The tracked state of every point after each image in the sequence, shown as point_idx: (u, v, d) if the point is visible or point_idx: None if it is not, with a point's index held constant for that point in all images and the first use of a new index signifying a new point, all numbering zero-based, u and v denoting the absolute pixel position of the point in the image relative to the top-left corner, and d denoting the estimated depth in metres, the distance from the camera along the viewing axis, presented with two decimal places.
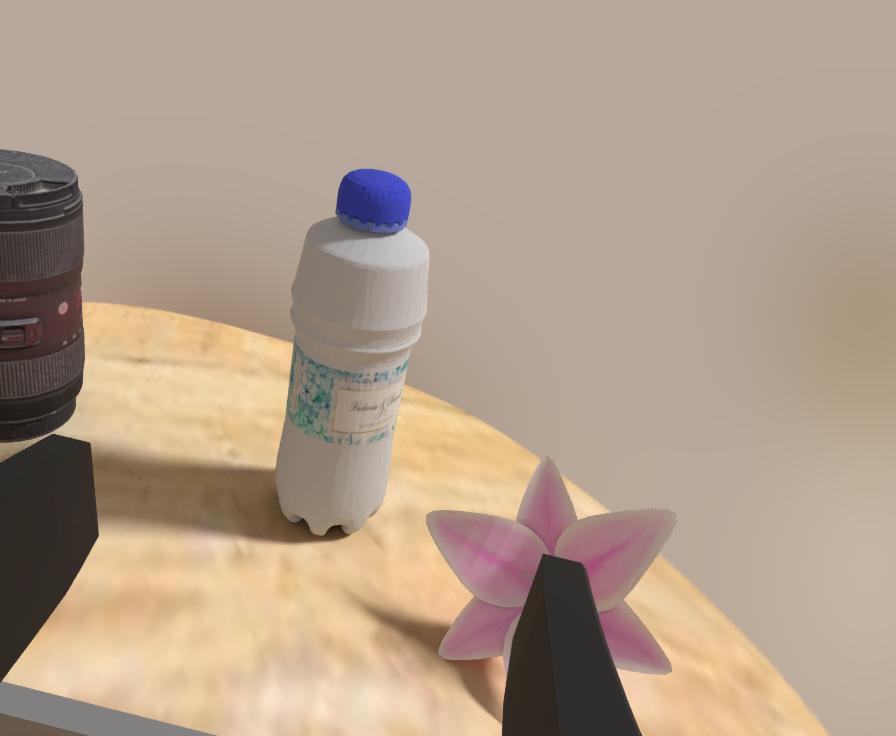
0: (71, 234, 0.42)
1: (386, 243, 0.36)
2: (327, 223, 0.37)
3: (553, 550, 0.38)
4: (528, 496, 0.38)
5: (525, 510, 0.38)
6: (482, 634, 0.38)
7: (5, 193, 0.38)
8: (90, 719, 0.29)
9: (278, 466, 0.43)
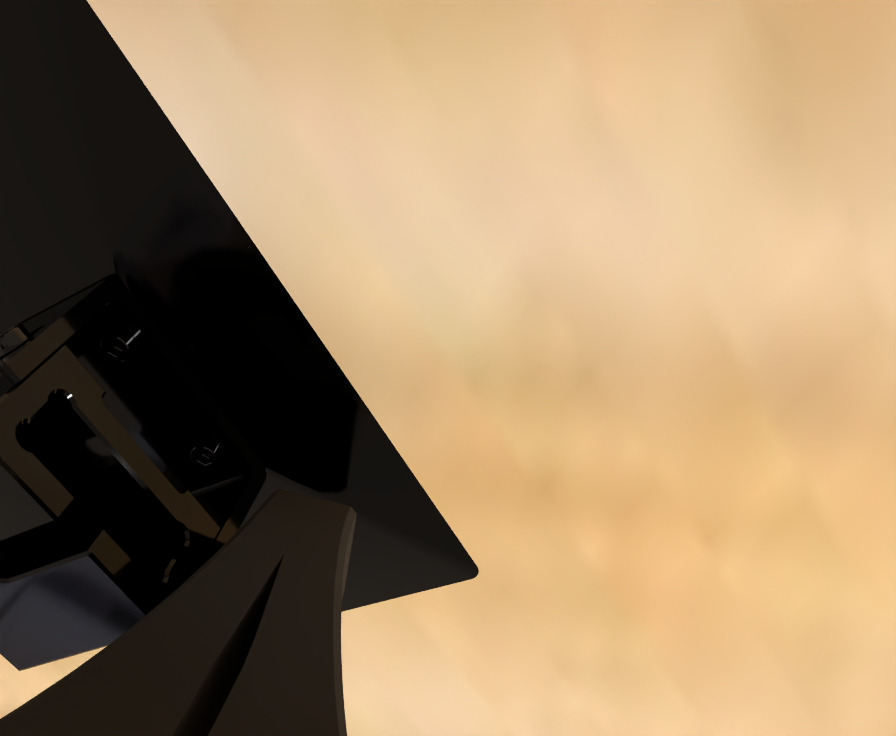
0: None
1: None
2: None
3: None
4: None
5: None
6: None
7: None
8: None
9: None
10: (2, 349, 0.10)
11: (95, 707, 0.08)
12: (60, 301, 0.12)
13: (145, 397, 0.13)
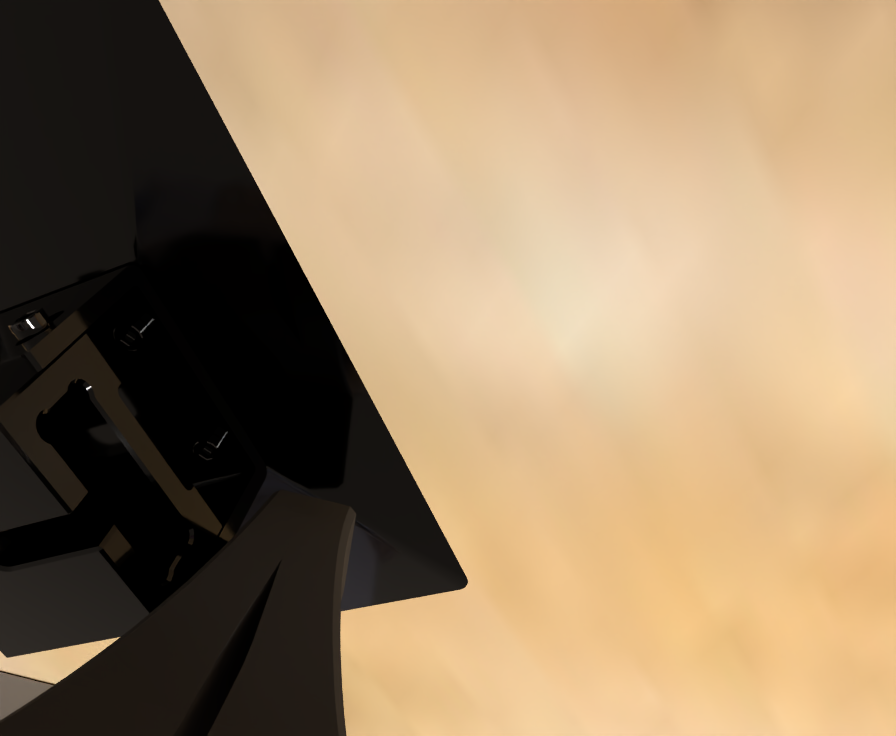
0: None
1: None
2: None
3: None
4: None
5: None
6: None
7: None
8: None
9: None
10: (22, 334, 0.10)
11: (96, 707, 0.08)
12: (73, 283, 0.12)
13: (152, 387, 0.13)
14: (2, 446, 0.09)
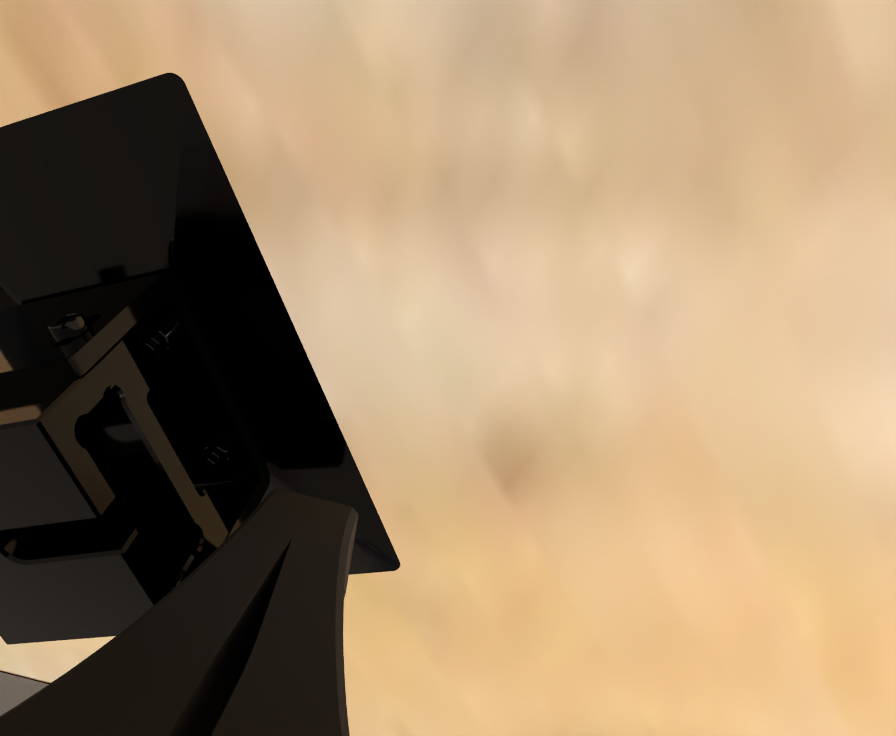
0: None
1: None
2: None
3: None
4: None
5: None
6: None
7: None
8: None
9: None
10: (62, 336, 0.10)
11: (92, 706, 0.08)
12: (103, 282, 0.12)
13: (169, 390, 0.13)
14: (41, 449, 0.09)
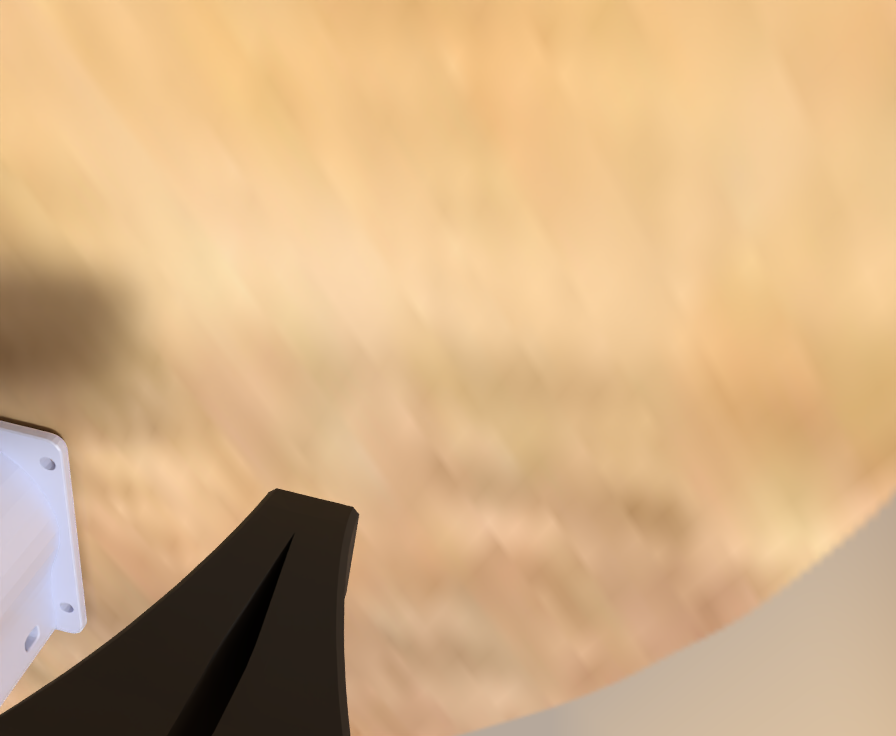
0: None
1: None
2: None
3: None
4: None
5: None
6: None
7: None
8: None
9: None
10: None
11: (90, 705, 0.08)
12: None
13: None
14: None
